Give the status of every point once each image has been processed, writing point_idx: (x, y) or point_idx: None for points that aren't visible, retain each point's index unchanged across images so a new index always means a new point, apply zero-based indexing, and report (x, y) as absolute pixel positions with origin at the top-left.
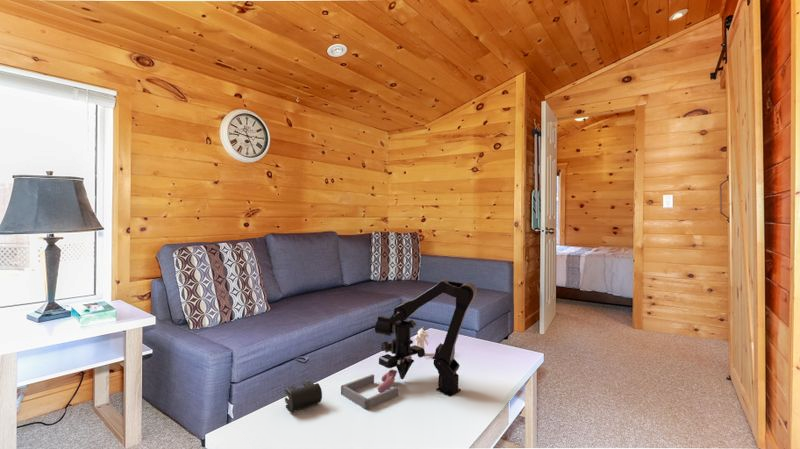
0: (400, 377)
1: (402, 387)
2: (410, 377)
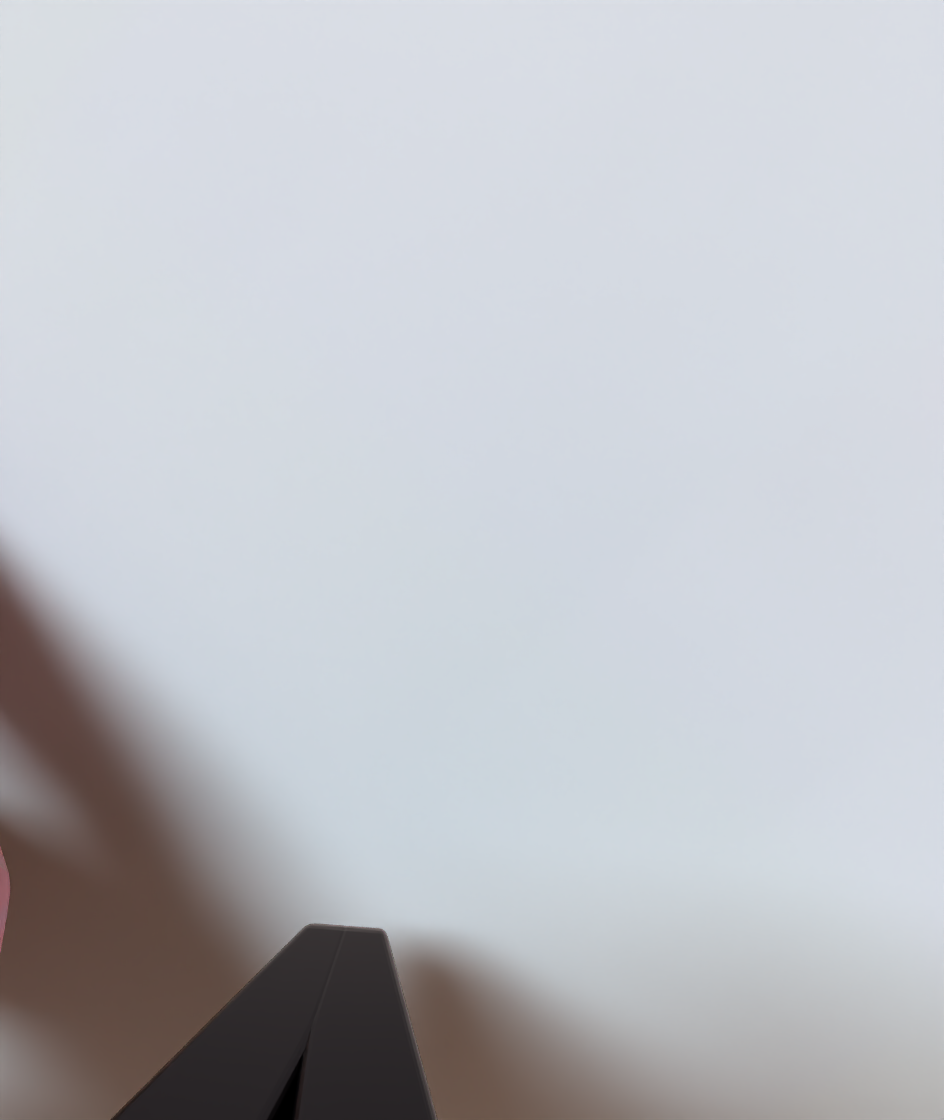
0: (277, 972)
1: (104, 1115)
2: (858, 870)
